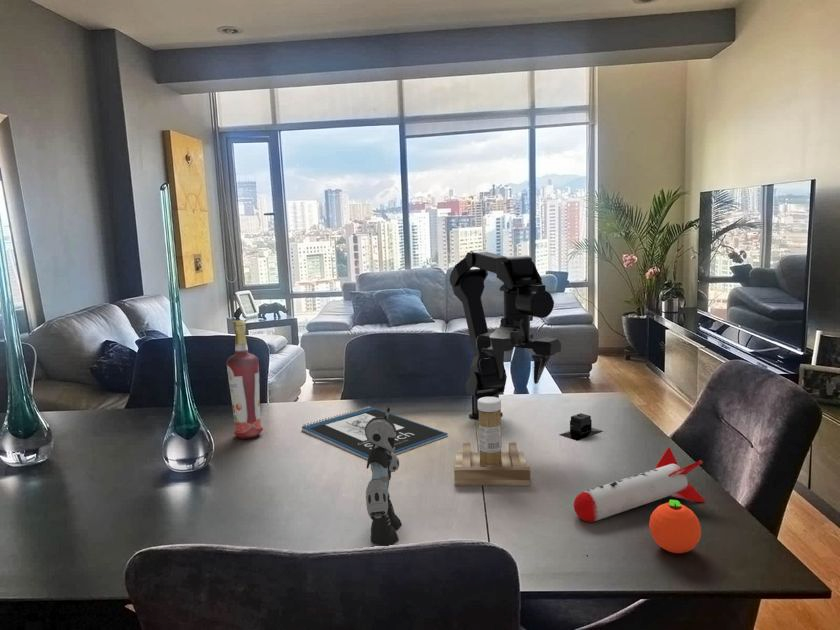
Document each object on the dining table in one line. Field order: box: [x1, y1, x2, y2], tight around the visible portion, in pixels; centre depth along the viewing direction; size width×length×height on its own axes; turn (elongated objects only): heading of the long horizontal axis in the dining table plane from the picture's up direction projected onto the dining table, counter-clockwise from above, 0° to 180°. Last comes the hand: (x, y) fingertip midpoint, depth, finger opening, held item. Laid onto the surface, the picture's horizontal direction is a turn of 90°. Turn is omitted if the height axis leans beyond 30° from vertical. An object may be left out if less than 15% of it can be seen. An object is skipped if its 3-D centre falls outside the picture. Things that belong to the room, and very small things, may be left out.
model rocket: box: [573, 446, 707, 523], centre depth 99 cm, size 11×23×10 cm
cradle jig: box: [453, 442, 531, 486], centre depth 116 cm, size 14×14×3 cm
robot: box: [365, 407, 403, 547], centre depth 92 cm, size 20×5×20 cm, turn 176°
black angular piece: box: [558, 412, 604, 442], centre depth 135 cm, size 12×7×5 cm, turn 127°
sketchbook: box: [301, 405, 448, 460], centre depth 140 cm, size 22×30×2 cm
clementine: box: [648, 499, 702, 554], centre depth 85 cm, size 8×7×7 cm
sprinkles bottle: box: [478, 397, 502, 467], centre depth 115 cm, size 5×5×13 cm
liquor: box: [225, 319, 264, 440], centre depth 139 cm, size 7×7×28 cm
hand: (517, 380), depth 133 cm, fingers open, 9 cm apart
